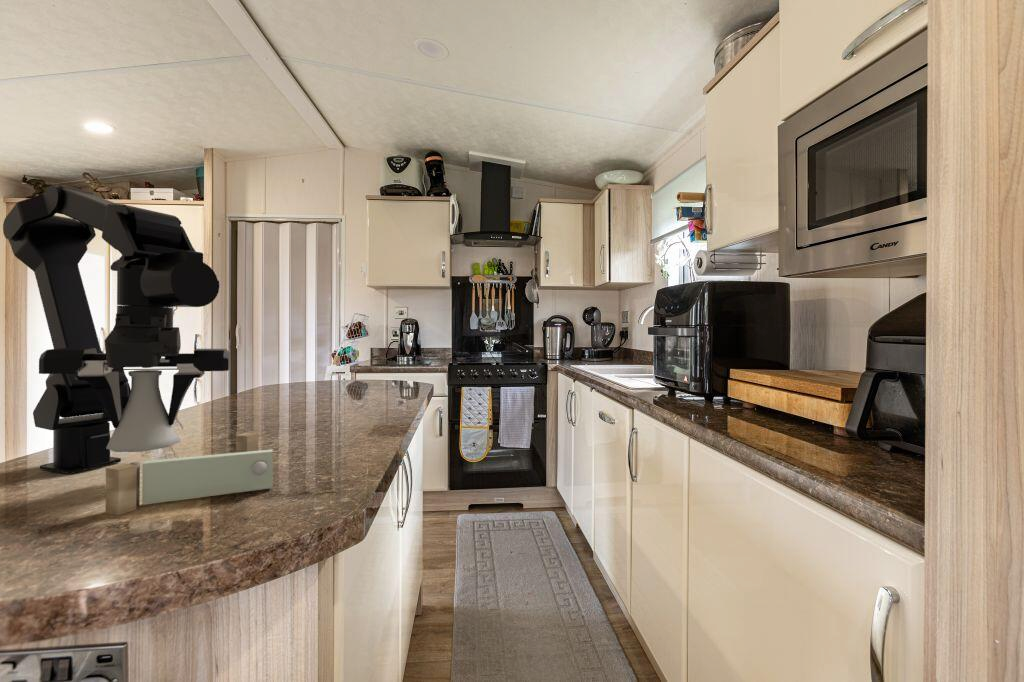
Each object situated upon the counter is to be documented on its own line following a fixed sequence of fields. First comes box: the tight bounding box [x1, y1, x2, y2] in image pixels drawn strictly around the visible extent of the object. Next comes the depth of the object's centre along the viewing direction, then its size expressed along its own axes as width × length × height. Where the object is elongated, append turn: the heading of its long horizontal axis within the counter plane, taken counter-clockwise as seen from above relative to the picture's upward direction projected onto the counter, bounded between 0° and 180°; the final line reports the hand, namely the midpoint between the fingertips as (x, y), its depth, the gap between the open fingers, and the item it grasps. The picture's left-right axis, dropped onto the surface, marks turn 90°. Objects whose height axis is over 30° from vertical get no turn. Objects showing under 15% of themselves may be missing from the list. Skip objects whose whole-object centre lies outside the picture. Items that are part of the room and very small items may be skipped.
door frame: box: [105, 431, 259, 516], centre depth 59 cm, size 2×19×5 cm, turn 164°
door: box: [141, 448, 274, 505], centre depth 55 cm, size 2×13×5 cm, turn 119°
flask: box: [106, 369, 182, 453], centre depth 60 cm, size 7×7×10 cm
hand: (144, 426), depth 60 cm, fingers closed on flask, 5 cm apart
